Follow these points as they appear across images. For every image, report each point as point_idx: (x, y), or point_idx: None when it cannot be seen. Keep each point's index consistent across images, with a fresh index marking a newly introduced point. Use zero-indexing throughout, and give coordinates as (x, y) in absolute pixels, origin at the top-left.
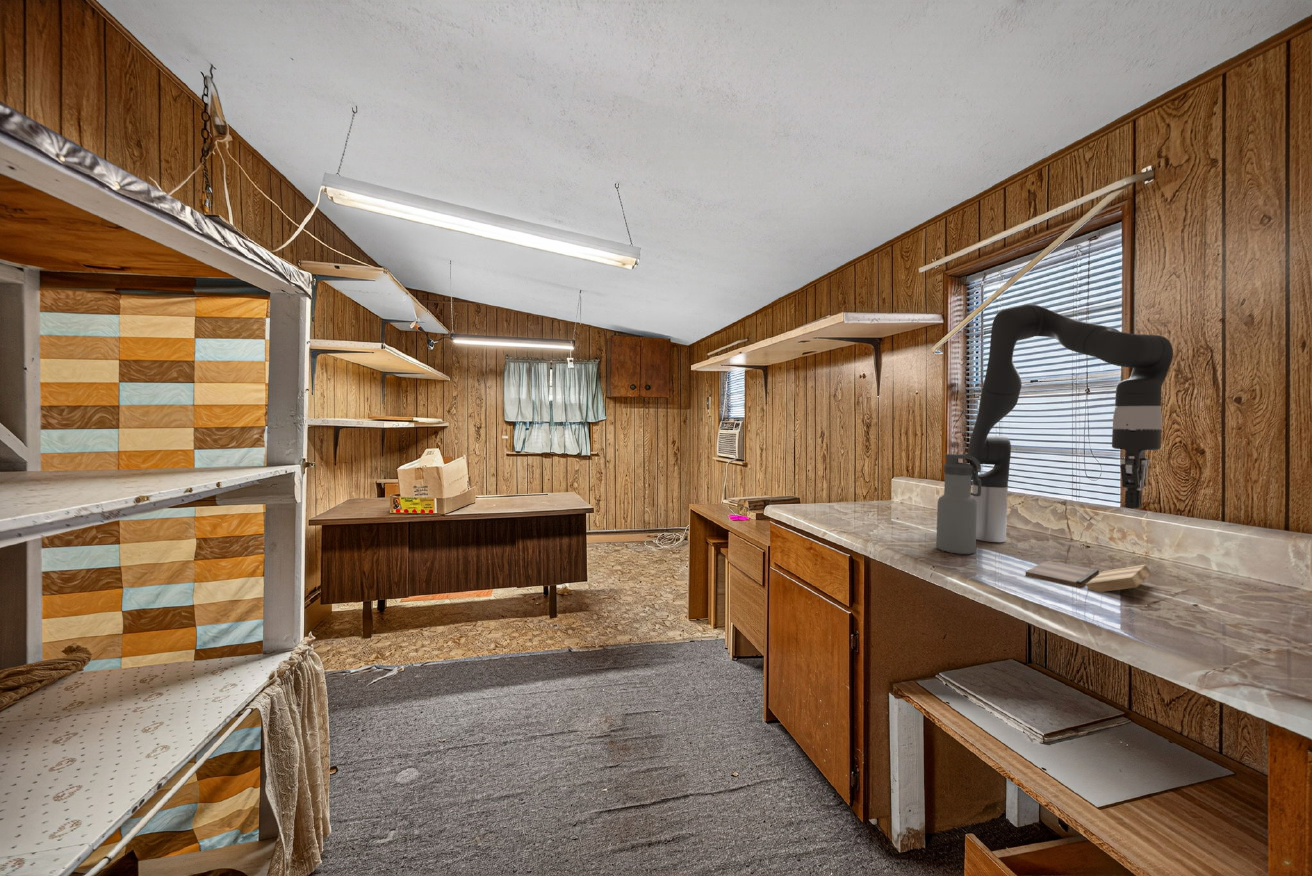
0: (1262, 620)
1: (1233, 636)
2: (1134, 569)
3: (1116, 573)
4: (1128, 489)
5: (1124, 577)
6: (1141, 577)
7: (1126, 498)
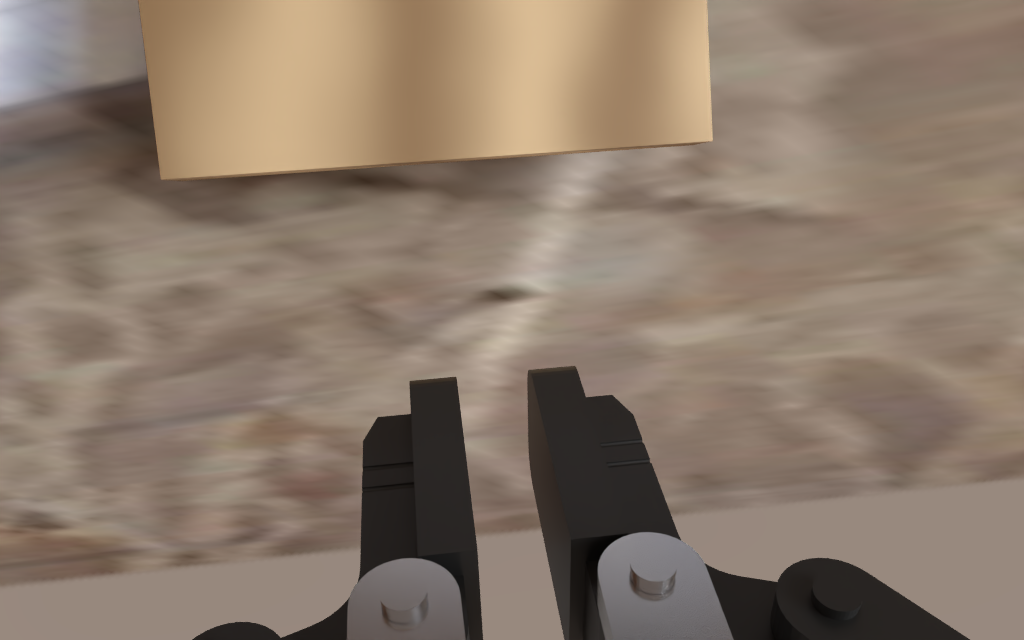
0: (485, 464)
1: (101, 452)
2: (538, 111)
3: (458, 15)
4: (343, 619)
5: (203, 128)
6: (415, 163)
7: (413, 464)
